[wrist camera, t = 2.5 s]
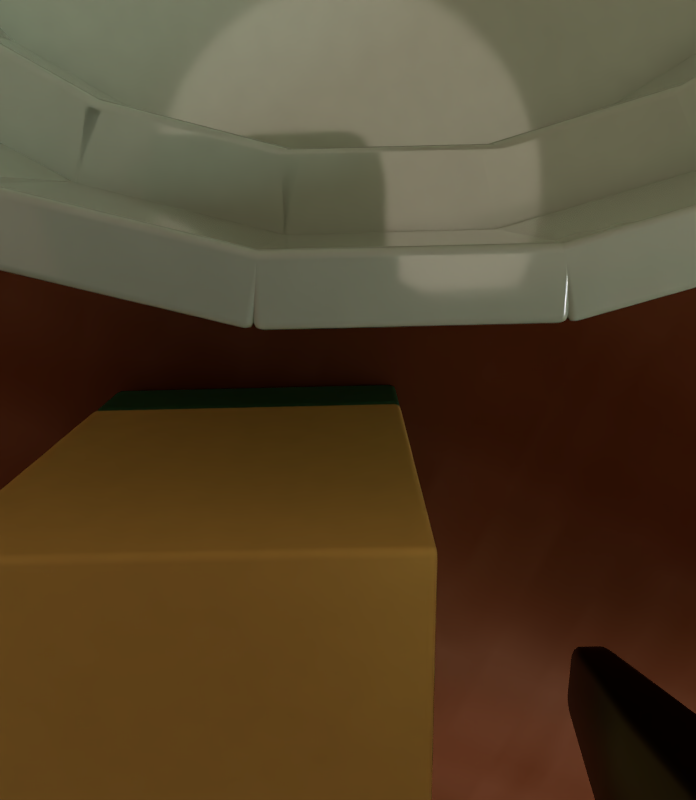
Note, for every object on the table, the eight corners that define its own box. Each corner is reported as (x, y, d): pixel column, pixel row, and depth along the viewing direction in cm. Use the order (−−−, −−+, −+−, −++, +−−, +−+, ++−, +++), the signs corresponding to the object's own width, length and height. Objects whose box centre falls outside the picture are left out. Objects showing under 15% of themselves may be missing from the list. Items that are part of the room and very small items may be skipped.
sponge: (395, 383, 10) (439, 549, 5) (395, 724, 12) (426, 1063, 7) (118, 389, 10) (-91, 560, 5) (166, 729, 12) (50, 1069, 7)
